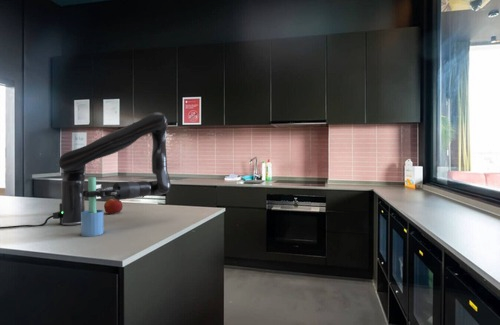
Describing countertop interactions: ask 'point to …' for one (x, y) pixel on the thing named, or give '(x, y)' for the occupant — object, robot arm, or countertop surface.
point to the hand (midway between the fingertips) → (84, 194)
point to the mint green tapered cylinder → (92, 199)
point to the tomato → (113, 206)
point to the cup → (92, 223)
